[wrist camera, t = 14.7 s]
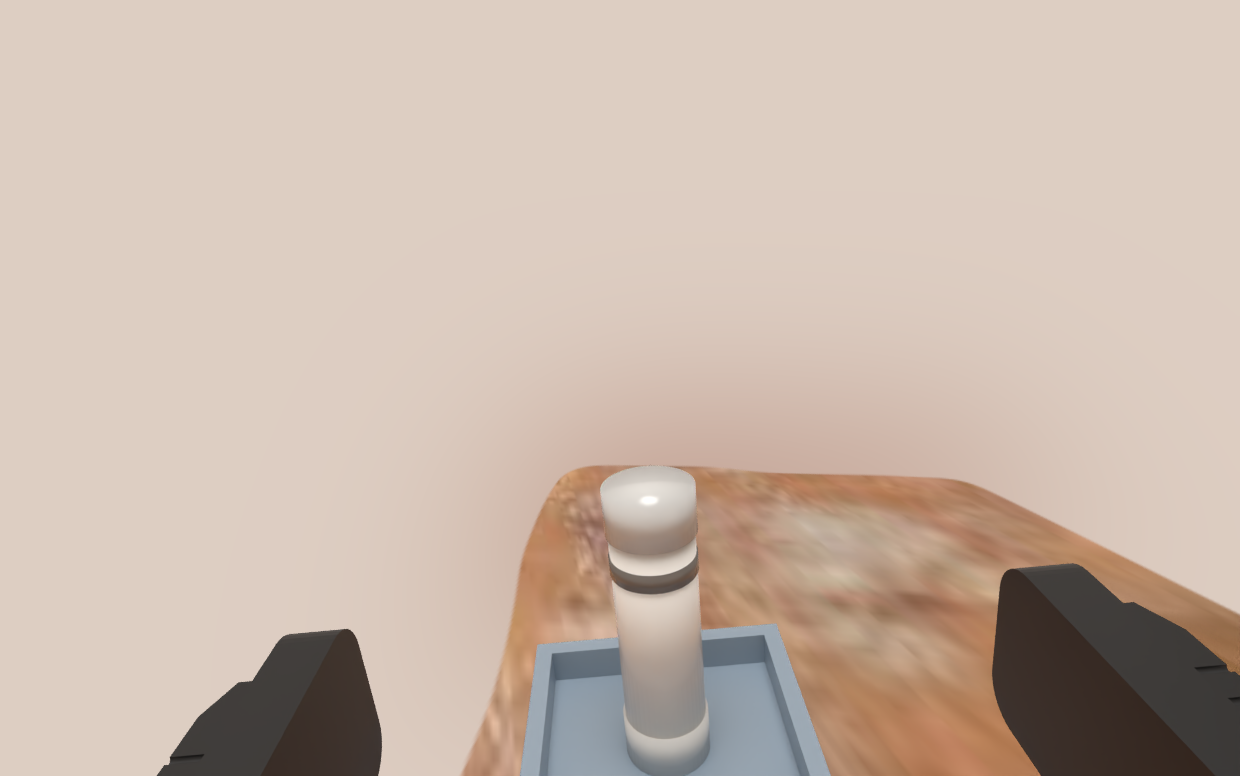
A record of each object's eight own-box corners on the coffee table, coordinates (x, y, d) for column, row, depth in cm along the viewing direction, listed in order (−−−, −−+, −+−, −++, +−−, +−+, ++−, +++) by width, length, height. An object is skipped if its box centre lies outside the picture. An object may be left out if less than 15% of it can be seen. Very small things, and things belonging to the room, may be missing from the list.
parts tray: (777, 663, 38) (776, 623, 37) (842, 857, 28) (842, 808, 27) (543, 683, 38) (537, 644, 37) (520, 884, 28) (511, 836, 27)
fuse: (704, 709, 34) (689, 462, 30) (715, 774, 31) (700, 503, 27) (626, 715, 35) (600, 469, 30) (627, 781, 31) (599, 512, 27)
